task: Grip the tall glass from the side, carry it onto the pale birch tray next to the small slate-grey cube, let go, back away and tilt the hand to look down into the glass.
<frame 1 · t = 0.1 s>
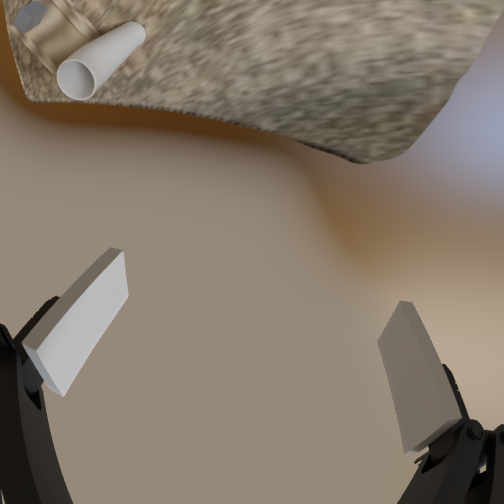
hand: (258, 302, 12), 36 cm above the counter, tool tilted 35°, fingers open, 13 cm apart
drinking glass 2: (133, 33, 29), on the counter
tray: (57, 28, 25), on the counter
cube: (37, 11, 20), point 1 cm above the counter, touching tray
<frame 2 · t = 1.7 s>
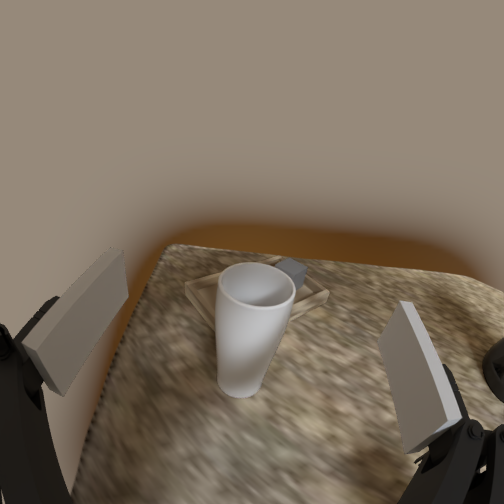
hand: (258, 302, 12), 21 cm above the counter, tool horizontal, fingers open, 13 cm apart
drinking glass 2: (238, 382, 31), on the counter
tray: (258, 299, 45), on the counter
cube: (286, 285, 48), point 1 cm above the counter, touching tray
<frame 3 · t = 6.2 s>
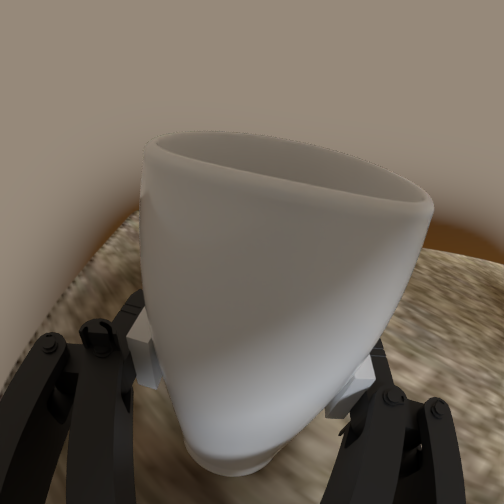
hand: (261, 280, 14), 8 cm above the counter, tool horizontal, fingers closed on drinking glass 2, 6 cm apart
drinking glass 2: (230, 440, 13), on the counter, touching gripper
when the fingers open (10 cm above the counter, at t = 10.4 s): drinking glass 2 drops 1 cm, resting on tray.
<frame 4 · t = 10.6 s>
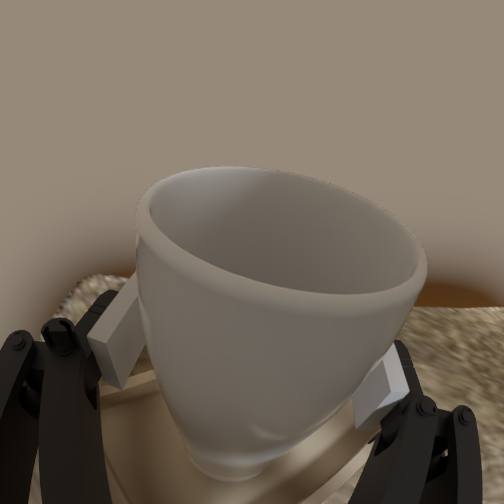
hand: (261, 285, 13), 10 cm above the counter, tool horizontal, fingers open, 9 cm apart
drinking glass 2: (228, 447, 14), point 1 cm above the counter, touching tray
tray: (252, 435, 15), on the counter
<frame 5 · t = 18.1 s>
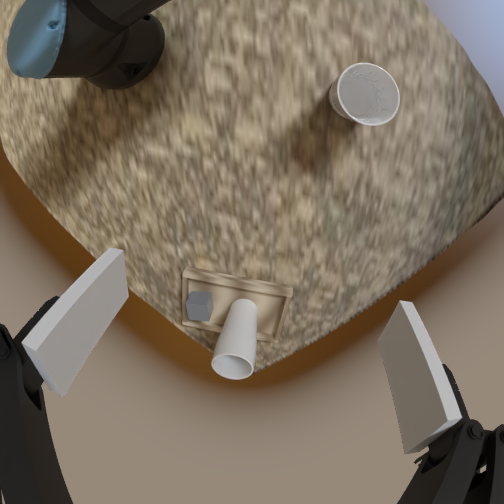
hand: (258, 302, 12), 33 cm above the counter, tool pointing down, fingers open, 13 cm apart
drinking glass 2: (244, 307, 54), point 1 cm above the counter, touching tray
tray: (234, 303, 54), on the counter
cube: (202, 299, 54), point 1 cm above the counter, touching tray
white cup: (349, 98, 35), on the counter
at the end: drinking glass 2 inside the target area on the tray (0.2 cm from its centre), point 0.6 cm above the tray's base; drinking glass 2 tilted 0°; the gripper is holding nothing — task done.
